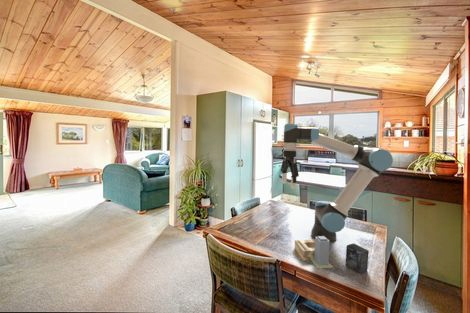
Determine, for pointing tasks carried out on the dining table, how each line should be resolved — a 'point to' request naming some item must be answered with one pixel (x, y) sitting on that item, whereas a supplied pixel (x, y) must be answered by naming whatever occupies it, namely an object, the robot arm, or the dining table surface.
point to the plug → (321, 250)
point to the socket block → (305, 248)
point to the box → (357, 258)
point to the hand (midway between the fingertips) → (288, 185)
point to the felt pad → (322, 265)
